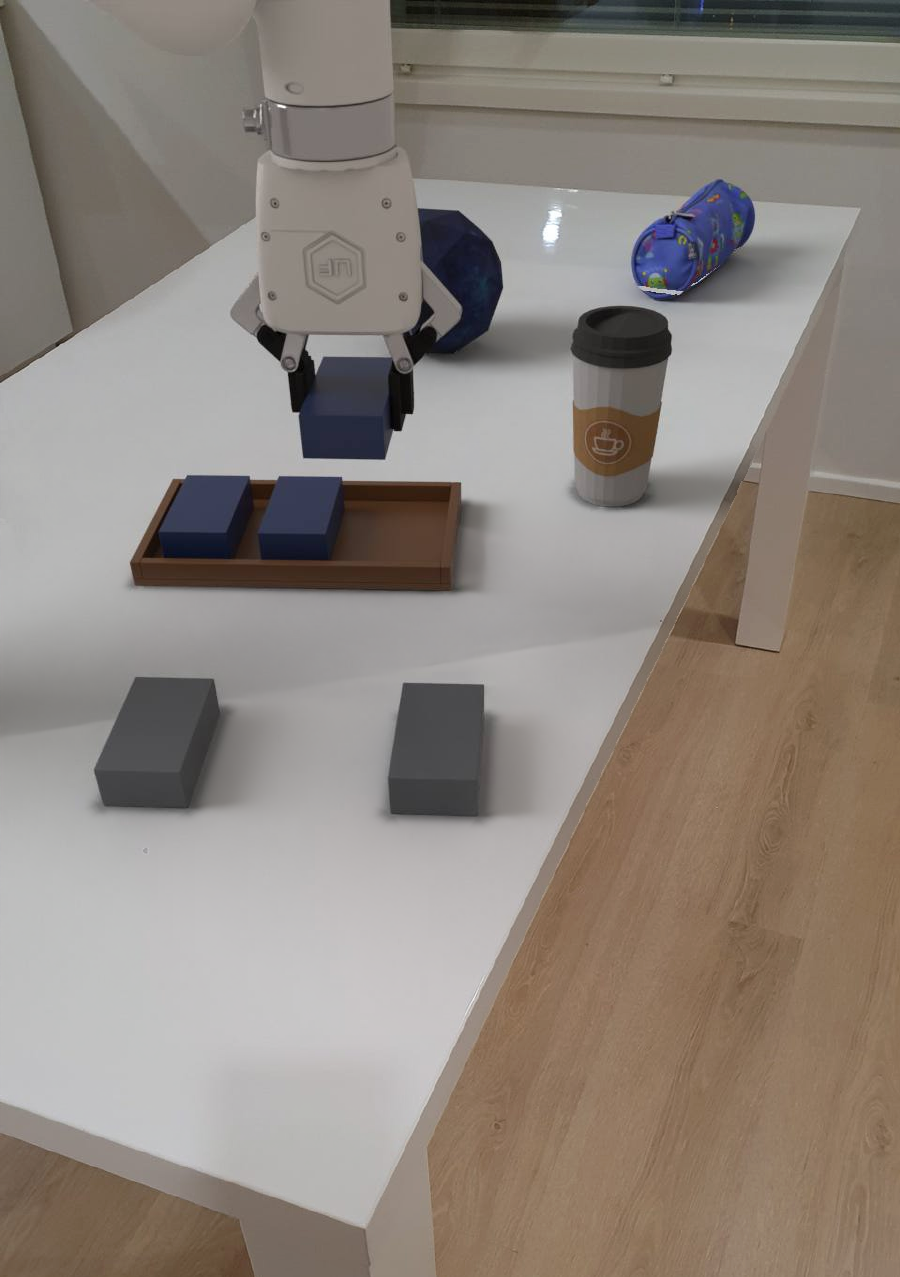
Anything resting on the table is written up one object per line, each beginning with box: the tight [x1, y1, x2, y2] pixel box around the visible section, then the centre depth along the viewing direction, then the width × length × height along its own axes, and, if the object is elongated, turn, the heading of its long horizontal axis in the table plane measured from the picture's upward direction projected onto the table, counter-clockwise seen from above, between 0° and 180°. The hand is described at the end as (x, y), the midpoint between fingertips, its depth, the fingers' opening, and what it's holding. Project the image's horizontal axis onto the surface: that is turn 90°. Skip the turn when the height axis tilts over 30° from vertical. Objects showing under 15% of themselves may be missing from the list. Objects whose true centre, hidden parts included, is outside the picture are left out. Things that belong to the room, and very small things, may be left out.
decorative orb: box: [411, 207, 504, 355], centre depth 130 cm, size 14×15×15 cm
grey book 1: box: [93, 676, 221, 809], centre depth 79 cm, size 6×10×3 cm, turn 176°
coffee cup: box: [569, 305, 673, 508], centre depth 103 cm, size 8×8×15 cm
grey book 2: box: [387, 682, 485, 817], centre depth 78 cm, size 6×10×3 cm, turn 176°
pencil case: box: [630, 178, 756, 301], centre depth 147 cm, size 22×9×10 cm, turn 150°
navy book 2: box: [257, 475, 345, 561], centre depth 100 cm, size 6×10×3 cm, turn 176°
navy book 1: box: [159, 474, 254, 559], centre depth 101 cm, size 6×10×3 cm, turn 176°
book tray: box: [129, 478, 462, 591], centre depth 101 cm, size 26×15×2 cm, turn 86°
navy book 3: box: [298, 356, 394, 461], centre depth 82 cm, size 6×10×3 cm, turn 175°
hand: (354, 420), depth 83 cm, fingers closed on navy book 3, 5 cm apart
